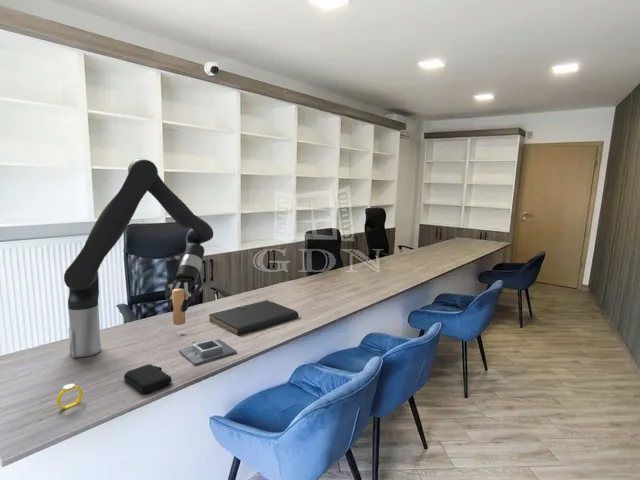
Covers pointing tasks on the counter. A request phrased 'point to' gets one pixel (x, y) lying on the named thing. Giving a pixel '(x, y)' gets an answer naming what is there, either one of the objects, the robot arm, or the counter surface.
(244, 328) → the black book
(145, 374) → the carrying case or bag
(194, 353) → the mounting plate
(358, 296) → the counter surface
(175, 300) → the post
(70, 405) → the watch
